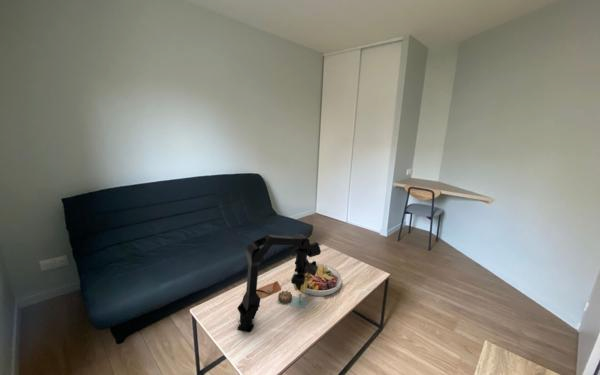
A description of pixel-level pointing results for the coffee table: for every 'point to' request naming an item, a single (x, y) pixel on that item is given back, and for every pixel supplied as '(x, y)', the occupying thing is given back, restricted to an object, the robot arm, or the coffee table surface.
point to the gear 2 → (302, 286)
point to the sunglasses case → (268, 290)
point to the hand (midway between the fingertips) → (300, 286)
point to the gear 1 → (285, 297)
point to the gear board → (297, 302)
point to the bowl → (323, 281)
